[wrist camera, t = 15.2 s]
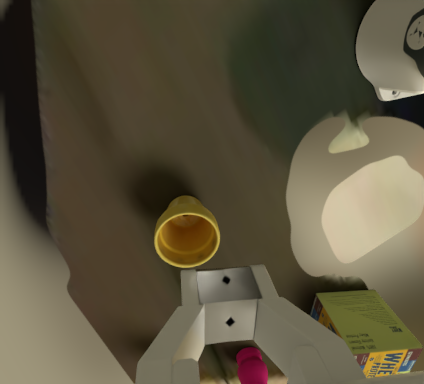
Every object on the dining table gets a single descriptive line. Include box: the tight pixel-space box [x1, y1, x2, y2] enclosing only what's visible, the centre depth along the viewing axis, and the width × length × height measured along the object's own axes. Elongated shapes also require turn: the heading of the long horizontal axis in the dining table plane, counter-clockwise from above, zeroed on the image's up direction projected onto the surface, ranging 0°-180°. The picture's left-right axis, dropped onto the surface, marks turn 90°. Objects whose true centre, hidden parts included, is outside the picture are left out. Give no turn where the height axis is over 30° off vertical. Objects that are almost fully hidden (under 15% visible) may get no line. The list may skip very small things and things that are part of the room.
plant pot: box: [154, 196, 220, 267], centre depth 49 cm, size 10×10×10 cm
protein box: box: [310, 290, 423, 378], centre depth 64 cm, size 10×15×16 cm
